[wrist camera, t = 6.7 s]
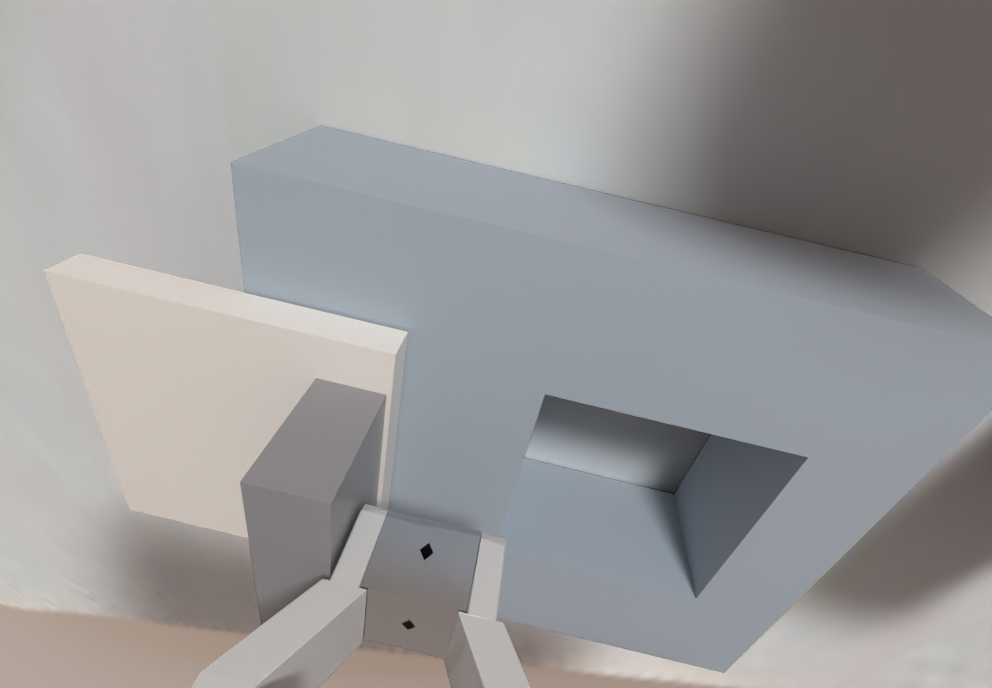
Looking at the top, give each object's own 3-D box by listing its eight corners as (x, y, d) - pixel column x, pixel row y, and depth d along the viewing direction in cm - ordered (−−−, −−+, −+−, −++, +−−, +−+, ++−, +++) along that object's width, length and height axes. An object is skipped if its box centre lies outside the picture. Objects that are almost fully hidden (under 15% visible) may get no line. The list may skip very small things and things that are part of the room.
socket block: (923, 268, 11) (1046, 356, 8) (699, 566, 18) (724, 673, 15) (320, 126, 11) (230, 162, 8) (322, 475, 18) (273, 563, 15)
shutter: (407, 332, 10) (337, 460, 7) (384, 542, 14) (334, 679, 11) (80, 253, 10) (-123, 348, 7) (151, 485, 14) (39, 607, 11)
